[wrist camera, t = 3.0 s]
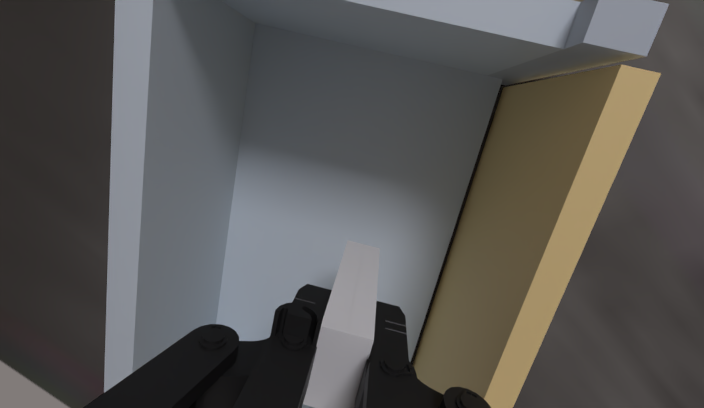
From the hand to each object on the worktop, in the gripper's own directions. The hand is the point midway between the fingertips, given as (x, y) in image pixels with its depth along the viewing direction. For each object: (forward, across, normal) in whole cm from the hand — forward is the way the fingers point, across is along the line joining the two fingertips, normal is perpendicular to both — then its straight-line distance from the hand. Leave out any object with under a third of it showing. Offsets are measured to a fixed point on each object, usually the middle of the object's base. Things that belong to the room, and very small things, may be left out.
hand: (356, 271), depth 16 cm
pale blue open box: (+7, -2, 0) cm, 7 cm away
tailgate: (+6, +6, 0) cm, 8 cm away
